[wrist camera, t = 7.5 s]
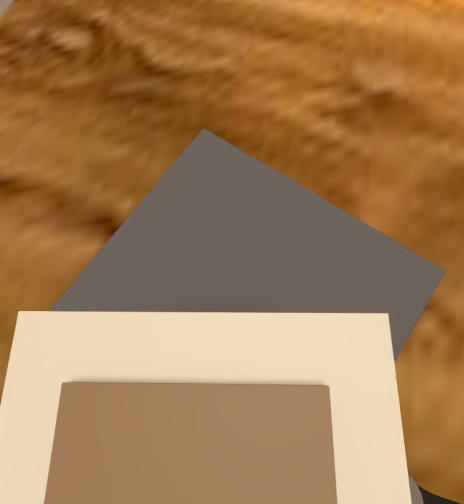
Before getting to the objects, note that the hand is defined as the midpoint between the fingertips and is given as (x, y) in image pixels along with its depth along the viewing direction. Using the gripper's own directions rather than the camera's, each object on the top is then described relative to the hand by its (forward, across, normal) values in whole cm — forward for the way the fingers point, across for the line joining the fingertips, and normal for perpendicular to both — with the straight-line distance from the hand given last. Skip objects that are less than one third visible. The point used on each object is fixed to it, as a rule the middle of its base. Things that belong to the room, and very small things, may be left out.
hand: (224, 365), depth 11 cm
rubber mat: (+9, 0, +5) cm, 10 cm away
